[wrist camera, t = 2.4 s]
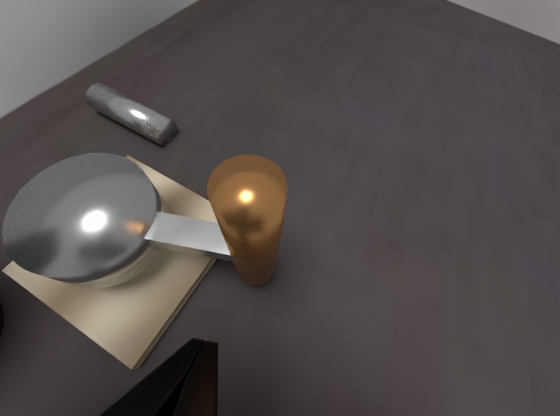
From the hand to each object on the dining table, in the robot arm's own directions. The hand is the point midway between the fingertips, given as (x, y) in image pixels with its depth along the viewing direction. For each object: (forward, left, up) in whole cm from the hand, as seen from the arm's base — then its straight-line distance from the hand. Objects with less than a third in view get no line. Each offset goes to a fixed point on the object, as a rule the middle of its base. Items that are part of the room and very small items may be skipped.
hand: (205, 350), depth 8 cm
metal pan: (+7, -3, -8) cm, 11 cm away
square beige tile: (+10, -2, -9) cm, 14 cm away
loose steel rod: (+18, -11, -9) cm, 23 cm away
